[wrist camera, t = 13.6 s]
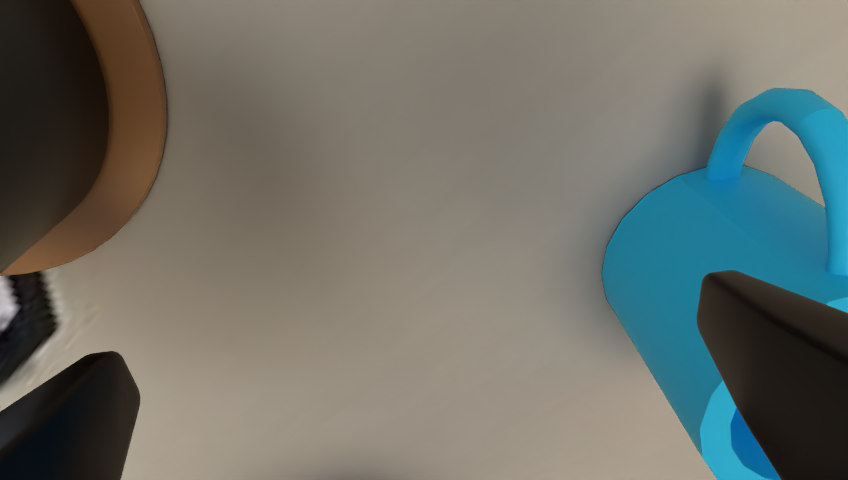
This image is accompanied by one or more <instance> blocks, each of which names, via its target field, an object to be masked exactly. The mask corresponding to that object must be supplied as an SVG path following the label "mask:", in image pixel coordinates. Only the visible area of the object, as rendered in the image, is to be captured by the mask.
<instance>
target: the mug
mask: <svg viewBox="0 0 848 480" xmlns="http://www.w3.org/2000/svg"><path fill="white" fill-rule="evenodd" d="M772 121H778V122H782V123H783V124H784V125H785V126H787V127H788V128H789V129H790V130H791V131H793V132H794V133H795V134H796V135H797V136H798V137H799V139H800V141H801V143H802V144H803V146H804V148H805V149H806V151H807V153H808V155H809V156H810V158H811V160H812V162H813V163H814V166H815V170H816V173H817V177H818V181H819V184H820V188H821V191H822V195H823V198H824V202H825V207H823V206H821V205H820V204H818V203H817V202H815V201H813V200H812V199H810V198H808V197H807V196H805V195H804V194H802V193H800V192H799V191H797V190H796V189H794V188H792V187H791V186H789V185H787V184H786V183H784V182H783V181H781V180H779V179H778V178H776V177H774V176H773V175H771V174H768V173H765V172H762V171H759V170H756V169H753V168H750V167H747V166H743V163H744V160H745V158H746V155H747V153H748V151H749V149H750V147H751V145H752V142H753V140H754V138H755V137H756V136H757V135H758V134H759V132H760V131H761V130H762V129H763V128H764V127H765V125H766V124H768V123H770V122H772ZM726 270H736V271H739V272H741V273H744V274H747V275H749V276H752V277H755V278H757V279H760V280H763V281H765V282H768V283H770V284H773V285H776V286H778V287H781V288H784V289H786V290H789V291H791V292H794V293H797V294H799V295H802V296H805V297H807V298H810V299H813V300H815V301H818V302H820V303H823V304H826V305H828V306H831V307H834V308H836V309H839V310H841V311H844V312H847V313H848V120H847V119H846V117H845V116H844V114H843V113H842V112H841V111H840V110H839V109H837V108H836V107H834V106H833V105H831V104H830V103H829V102H827V101H826V100H824V99H823V98H821V97H820V96H818V95H817V94H816V93H814V92H813V91H810V90H804V89H787V88H773V89H770V90H767V91H765V92H763V93H761V94H759V95H758V96H756V97H754V98H752V99H751V100H749V101H747V102H745V103H744V104H742V105H740V106H739V107H738V108H737V109H736V110H735V112H734V113H733V114H732V116H731V117H730V118H729V120H728V121H727V123H726V124H725V125H724V127H723V128H722V129H721V131H720V133H719V135H718V137H717V140H716V143H715V145H714V148H713V150H712V153H711V155H710V158H709V161H708V165H707V167H706V168H703V169H699V170H696V171H693V172H689V173H686V174H683V175H679V176H677V177H675V178H673V179H672V180H670V181H668V182H667V183H665V184H663V185H662V186H660V187H658V188H657V189H655V190H653V191H652V192H650V193H648V194H647V195H646V196H645V197H644V198H643V199H642V200H641V201H640V202H639V203H638V204H637V205H636V206H635V207H634V208H633V209H632V210H631V211H630V212H629V213H628V214H627V215H626V216H625V217H624V218H623V219H622V220H621V222H620V224H619V226H618V228H617V229H616V231H615V233H614V235H613V237H612V238H611V240H610V242H609V244H608V246H607V248H606V254H605V259H604V264H603V269H602V279H603V284H604V289H605V295H606V299H607V300H608V302H609V304H610V305H611V307H612V308H613V310H614V312H615V313H616V315H617V317H618V318H619V320H620V322H621V323H622V325H623V327H624V328H625V330H626V332H627V333H628V335H629V337H630V338H631V340H632V342H633V343H634V345H635V347H636V348H637V350H638V352H639V353H640V355H641V357H642V358H643V360H644V361H645V363H646V365H647V366H648V368H649V370H650V371H651V373H652V375H653V376H654V378H655V380H656V381H657V383H658V385H659V386H660V388H661V390H662V391H663V393H664V395H665V396H666V398H667V400H668V401H669V403H670V405H671V406H672V408H673V410H674V411H675V413H676V414H677V416H678V418H679V419H680V421H681V423H682V424H683V426H684V428H685V429H686V431H687V433H688V434H689V436H690V438H691V439H692V441H693V443H694V444H695V446H696V448H697V449H698V451H699V453H700V454H701V456H702V458H703V459H704V460H705V462H706V463H707V465H708V466H709V468H710V469H711V471H712V472H713V473H714V475H715V476H716V478H717V479H718V480H781V479H780V477H779V475H778V474H777V472H776V471H775V469H774V468H773V466H772V464H771V463H770V461H769V460H768V458H767V457H766V455H765V453H764V452H763V450H762V449H761V447H760V446H759V444H758V442H757V441H756V439H755V438H754V436H753V435H752V433H751V431H750V430H749V428H748V427H747V425H746V423H745V422H744V420H743V418H742V416H741V415H740V413H739V411H738V409H737V407H736V405H735V403H734V401H733V399H732V397H731V395H730V393H729V391H728V389H727V387H726V385H725V383H724V381H723V379H722V377H721V375H720V373H719V371H718V369H717V367H716V365H715V363H714V361H713V359H712V357H711V355H710V353H709V351H708V349H707V347H706V345H705V343H704V341H703V339H702V337H701V335H700V332H699V330H698V326H697V310H698V304H699V297H700V291H701V284H702V280H703V278H704V276H705V275H706V274H708V273H711V272H719V271H726Z"/></svg>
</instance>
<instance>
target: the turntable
mask: <svg viewBox="0 0 848 480" xmlns="http://www.w3.org/2000/svg"><path fill="white" fill-rule="evenodd" d="M70 1H71V3H72V4H73V6H74V8H75V10H76V12H77V13H78V15H79V17H80V19H81V21H82V22H83V24H84V26H85V28H86V30H87V32H88V35H89V37H90V40H91V42H92V44H93V47H94V49H95V52H96V54H97V57H98V60H99V63H100V67H101V70H102V74H103V77H104V81H105V86H106V93H107V99H108V106H109V134H108V141H107V148H106V154H105V157H104V160H103V163H102V166H101V170H100V172H99V174H98V176H97V178H96V180H95V182H94V184H93V186H92V188H91V190H90V191H89V192H88V194H87V195H86V196H85V198H84V199H83V200H82V202H81V203H80V204H79V205H78V206H77V207H76V208H75V209H74V210H73V211H72V212H71V213H70V214H69V215H68V216H67V217H65V218H64V219H63V220H62V221H61V222H60V223H59V224H57V225H56V226H55V227H54V228H53V229H52V230H50V231H49V232H48V233H47V234H46V235H45V236H43V237H42V238H41V239H40V240H39V241H38V242H37V243H35V244H34V245H33V246H32V247H31V248H30V249H28V250H27V251H26V252H25V253H24V254H23V255H21V256H20V257H19V258H18V259H17V260H16V261H15V262H13V263H12V264H11V265H10V266H9V267H8V268H6V269H5V270H4V271H3V272H2V273H1V274H0V276H3V275H16V274H25V273H30V272H36V271H41V270H46V269H50V268H53V267H56V266H59V265H62V264H65V263H68V262H71V261H73V260H75V259H77V258H79V257H81V256H83V255H85V254H87V253H89V252H91V251H93V250H94V249H96V248H97V247H99V246H100V245H101V244H103V243H104V242H106V241H107V240H109V239H110V238H111V237H112V236H113V235H114V234H115V233H116V232H117V231H119V230H120V229H121V228H122V227H123V226H124V225H125V224H126V223H127V222H128V221H129V220H130V218H131V217H132V216H133V215H134V213H135V212H136V211H137V209H138V208H139V206H140V205H141V204H142V202H143V201H144V199H145V198H146V196H147V194H148V192H149V190H150V188H151V186H152V184H153V182H154V180H155V178H156V175H157V172H158V168H159V165H160V162H161V158H162V155H163V150H164V142H165V135H166V128H167V120H166V94H165V87H164V80H163V73H162V67H161V64H160V60H159V57H158V53H157V49H156V46H155V42H154V39H153V35H152V33H151V31H150V28H149V26H148V23H147V21H146V18H145V16H144V13H143V11H142V8H141V6H140V4H139V2H138V0H70Z"/></svg>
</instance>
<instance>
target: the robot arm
mask: <svg viewBox="0 0 848 480" xmlns="http://www.w3.org/2000/svg"><path fill="white" fill-rule="evenodd" d="M697 326H698V330H699V332H700V335H701V337H702V339H703V341H704V343H705V345H706V347H707V349H708V351H709V353H710V355H711V357H712V359H713V361H714V363H715V365H716V367H717V369H718V371H719V373H720V375H721V377H722V379H723V381H724V383H725V385H726V387H727V389H728V391H729V393H730V395H731V397H732V399H733V401H734V403H735V405H736V407H737V409H738V411H739V413H740V415H741V416H742V418H743V420H744V422H745V423H746V425H747V427H748V428H749V430H750V431H751V433H752V435H753V436H754V438H755V439H756V441H757V442H758V444H759V446H760V447H761V449H762V450H763V452H764V453H765V455H766V457H767V458H768V460H769V461H770V463H771V464H772V466H773V468H774V469H775V471H776V472H777V474H778V475H779V477H780V479H781V480H848V313H847V312H844V311H841V310H839V309H836V308H834V307H831V306H828V305H826V304H823V303H820V302H818V301H815V300H813V299H810V298H807V297H805V296H802V295H799V294H797V293H794V292H791V291H789V290H786V289H784V288H781V287H778V286H776V285H773V284H770V283H768V282H765V281H763V280H760V279H757V278H755V277H752V276H749V275H747V274H744V273H741V272H739V271H736V270H726V271H719V272H711V273H708V274H706V275H705V276H704V278H703V280H702V284H701V291H700V297H699V304H698V310H697ZM139 406H140V393H139V390H138V387H137V385H136V383H135V381H134V379H133V377H132V375H131V373H130V371H129V369H128V367H127V365H126V363H125V361H124V359H123V358H122V356H121V355H120V354H119V353H117V352H114V351H108V352H101V353H93V354H89V355H86V356H84V357H83V358H81V359H80V360H78V361H77V362H75V363H74V364H72V365H71V366H69V367H68V368H66V369H65V370H63V371H61V372H60V373H58V374H57V375H55V376H54V377H52V378H51V379H49V380H48V381H46V382H45V383H43V384H42V385H40V386H39V387H37V388H36V389H34V390H33V391H31V392H30V393H28V394H27V395H25V396H23V397H22V398H20V399H19V400H17V401H16V402H14V403H13V404H11V405H10V406H8V407H7V408H5V409H4V410H2V411H1V412H0V480H120V479H121V475H122V472H123V468H124V464H125V460H126V456H127V453H128V449H129V445H130V441H131V437H132V433H133V430H134V426H135V422H136V418H137V414H138V410H139Z"/></svg>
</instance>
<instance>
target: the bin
mask: <svg viewBox="0 0 848 480" xmlns="http://www.w3.org/2000/svg"><path fill="white" fill-rule="evenodd" d="M108 134H109V106H108V99H107V93H106V86H105V81H104V77H103V74H102V70H101V67H100V63H99V60H98V57H97V54H96V52H95V49H94V47H93V44H92V42H91V40H90V37H89V35H88V32H87V30H86V28H85V26H84V24H83V22H82V21H81V19H80V17H79V15H78V13H77V12H76V10H75V8H74V6H73V4H72V3H71V1H70V0H0V274H1V273H2V272H3V271H4V270H5V269H6V268H8V267H9V266H10V265H11V264H12V263H13V262H15V261H16V260H17V259H18V258H19V257H20V256H21V255H23V254H24V253H25V252H26V251H27V250H28V249H30V248H31V247H32V246H33V245H34V244H35V243H37V242H38V241H39V240H40V239H41V238H42V237H43V236H45V235H46V234H47V233H48V232H49V231H50V230H52V229H53V228H54V227H55V226H56V225H57V224H59V223H60V222H61V221H62V220H63V219H64V218H65V217H67V216H68V215H69V214H70V213H71V212H72V211H73V210H74V209H75V208H76V207H77V206H78V205H79V204H80V203H81V202H82V200H83V199H84V198H85V196H86V195H87V194H88V192H89V191H90V190H91V188H92V186H93V184H94V182H95V180H96V178H97V176H98V174H99V172H100V170H101V166H102V163H103V160H104V157H105V154H106V148H107V141H108Z"/></svg>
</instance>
